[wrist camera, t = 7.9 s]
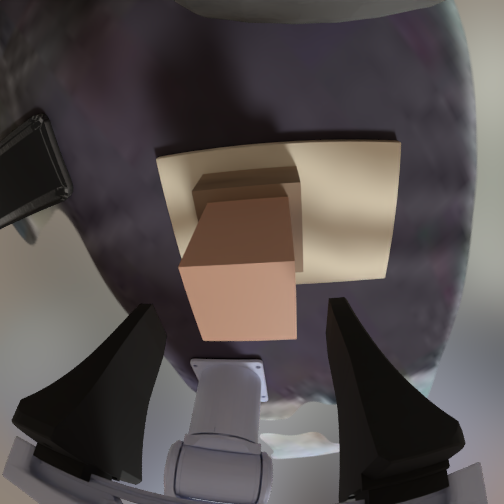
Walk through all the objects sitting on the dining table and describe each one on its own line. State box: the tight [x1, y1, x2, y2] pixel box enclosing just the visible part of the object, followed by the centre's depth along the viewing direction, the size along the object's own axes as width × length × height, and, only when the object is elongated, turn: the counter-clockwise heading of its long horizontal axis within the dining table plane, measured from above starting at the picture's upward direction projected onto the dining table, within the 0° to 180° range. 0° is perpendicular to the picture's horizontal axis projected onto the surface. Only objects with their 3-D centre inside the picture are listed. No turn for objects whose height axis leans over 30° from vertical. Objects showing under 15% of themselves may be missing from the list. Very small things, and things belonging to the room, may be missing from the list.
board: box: [156, 140, 401, 284], centre depth 20 cm, size 11×16×1 cm
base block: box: [192, 166, 303, 273], centre depth 18 cm, size 6×6×3 cm
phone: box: [0, 114, 73, 229], centre depth 19 cm, size 8×1×15 cm
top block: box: [178, 197, 297, 341], centre depth 15 cm, size 4×4×6 cm
